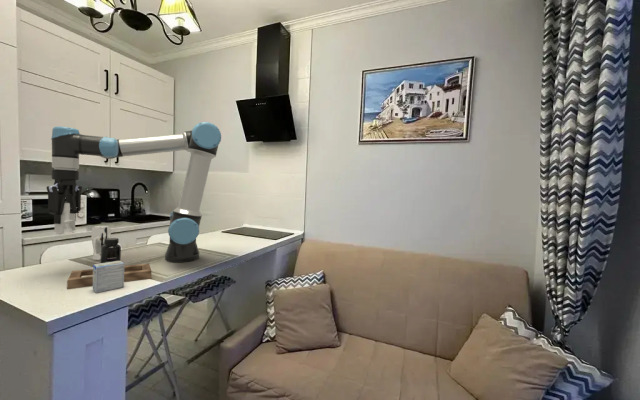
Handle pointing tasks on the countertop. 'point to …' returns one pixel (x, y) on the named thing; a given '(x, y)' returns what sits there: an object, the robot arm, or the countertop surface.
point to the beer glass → (99, 239)
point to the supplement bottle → (110, 250)
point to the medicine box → (108, 276)
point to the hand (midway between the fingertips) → (65, 231)
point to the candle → (66, 219)
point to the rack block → (130, 274)
